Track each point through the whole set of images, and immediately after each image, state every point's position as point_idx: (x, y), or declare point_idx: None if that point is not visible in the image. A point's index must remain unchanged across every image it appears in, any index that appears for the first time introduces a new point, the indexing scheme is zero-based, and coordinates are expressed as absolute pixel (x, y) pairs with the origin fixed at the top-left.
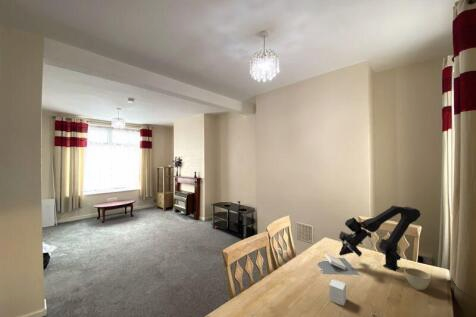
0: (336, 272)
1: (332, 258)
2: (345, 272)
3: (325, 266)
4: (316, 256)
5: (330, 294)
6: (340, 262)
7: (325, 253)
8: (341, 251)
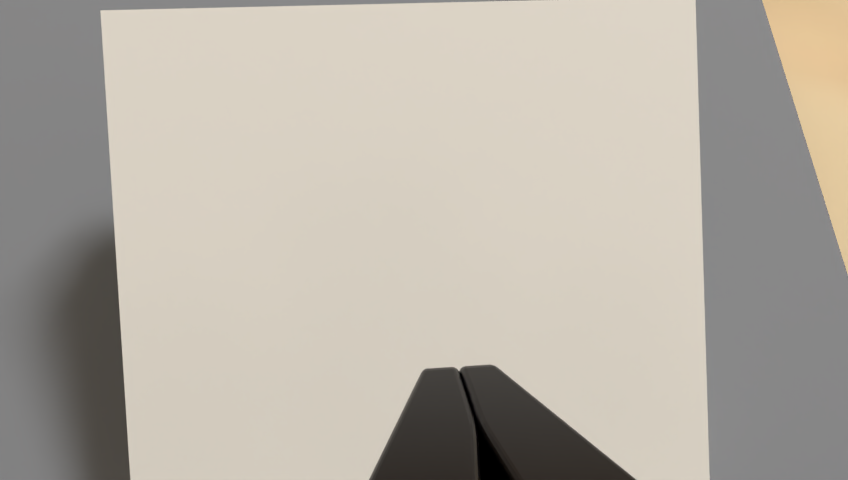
0: (39, 233)
1: (405, 156)
2: (20, 473)
3: None
4: (843, 26)
5: None
6: (367, 436)
7: (682, 2)
8: (438, 474)
